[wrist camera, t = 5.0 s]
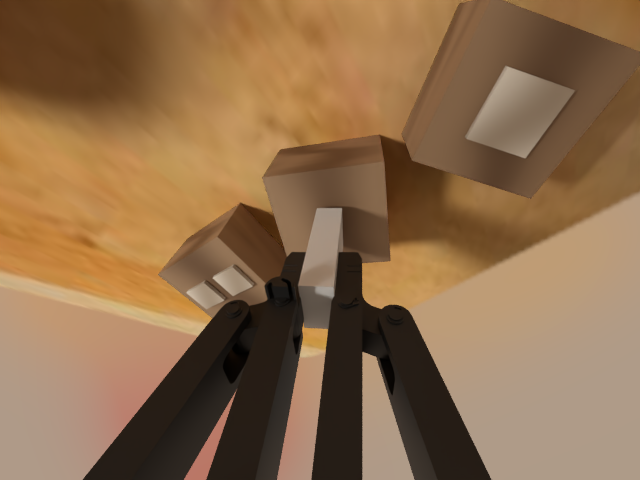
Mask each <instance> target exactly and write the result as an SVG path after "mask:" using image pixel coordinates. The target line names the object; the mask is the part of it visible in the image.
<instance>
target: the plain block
mask: <svg viewBox="0 0 640 480" xmlns="http://www.w3.org/2000/svg"><path fill="white" fill-rule="evenodd" d="M262 178H263V182H264V185H265V188H266V191H267V194H268V198H269V201H270V204H271V207H272V210H273V214H274V217H275V220H276V223H277V226H278V230H279V233H280V236H281V239H282V242H283V246H284V249H285V252H286V255H287V256H288V255H289V254H290V253H291V252H306V251H307V247H308V243H309V239H310V234H311V230H312V226H313V222H314V218H315V214H316V210H317V208H342V224H343V252H358V253H359V255H360V256H361V258H362V263H371V262H385V261H390V246H389V230H388V213H387V197H386V181H385V164H384V157H383V151H382V145H381V140H380V135H374V136H368V137H361V138H354V139H348V140H341V141H334V142H328V143H321V144H314V145H307V146H301V147H294V148H287V149H281V150H280V151H279V152H278V154H277V155H276V157H275V159H274V160H273V162H272V163H271V165H270V166H269V168H268V169H267V171H266V173H265V174H264V176H263V177H262Z"/></svg>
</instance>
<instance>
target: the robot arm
mask: <svg viewBox="0 0 640 480" xmlns="http://www.w3.org/2000/svg"><path fill="white" fill-rule="evenodd" d="M264 287H265V292H266V296H267V301H265V302H262V303H259V304H255V305H250V306H249V305H248V304H247V302H245V301H243V300H233V301H230V302H228V303H226V304H225V305H224V306H223V307H222V308H221V309H220V310H219V311H218V312H217V314H216V315H215V316H214V317H213V319H212V320H211V321H210V322H209V324H208V325H207V326H206V327H205V329H204V330H203V331H202V332H201V333H200V335H199V336H198V337H197V338H196V340H195V341H194V342H193V343H192V345H191V346H190V347H189V348H188V350H187V351H186V352H185V353H184V355H183V356H182V357H181V358H180V360H179V361H178V362H177V363H176V365H175V366H174V367H173V368H172V369H171V371H170V372H169V373H168V374H167V376H166V377H165V378H164V380H163V381H162V382H161V383H160V385H159V386H158V387H157V388H156V390H155V391H154V392H153V393H152V394H151V396H150V397H149V398H148V399H147V401H146V402H145V403H144V404H143V406H142V407H141V408H140V409H139V410H138V412H137V413H136V414H135V415H134V417H133V418H132V419H131V420H130V422H129V423H128V424H127V425H126V427H125V428H124V429H123V430H122V432H121V433H120V434H119V436H118V437H117V438H116V439H115V440H114V442H113V443H112V444H111V445H110V446H109V448H108V449H107V450H106V451H105V453H104V454H103V455H102V456H101V458H100V459H99V460H98V461H97V463H96V464H95V465H94V466H93V468H92V469H91V470H90V471H89V473H88V474H87V475H86V476H85V477H84V479H83V480H184V478H185V476H186V475H187V473H188V471H189V470H190V468H191V466H192V464H193V463H194V461H195V459H196V458H197V456H198V454H199V452H200V451H201V449H202V447H203V446H204V444H205V442H206V441H207V439H208V437H209V436H210V434H211V432H212V430H213V429H214V427H215V425H216V424H217V422H218V420H219V418H220V417H221V415H222V413H223V412H224V410H225V408H226V407H227V405H228V403H229V401H230V400H231V398H232V396H233V395H234V393H235V391H236V390H237V391H236V394H235V397H234V400H233V403H232V406H231V409H230V412H229V414H228V417H227V420H226V424H225V426H224V429H223V433H222V435H221V438H220V441H219V444H218V447H217V450H216V453H215V456H214V459H213V462H212V465H211V468H210V470H209V474H208V476H207V479H206V480H277V475H278V470H279V465H280V459H281V453H282V448H283V443H284V437H285V432H286V427H287V421H288V416H289V410H290V405H291V399H292V394H293V389H294V383H295V378H296V372H297V367H298V361H299V356H300V351H301V345H302V340H303V333H302V327H303V322H304V327H305V328H323V329H328V337H327V346H326V355H325V364H324V372H323V381H322V391H321V399H320V408H319V417H318V427H317V435H316V444H315V453H314V462H313V470H312V480H362V352H365V353H368V354H370V355H373V356H376V357H377V361H378V364H379V367H380V370H381V374H382V377H383V380H384V383H385V386H386V390H387V393H388V396H389V399H390V402H391V405H392V409H393V412H394V415H395V418H396V422H397V425H398V428H399V431H400V434H401V437H402V441H403V444H404V447H405V450H406V454H407V457H408V460H409V463H410V466H411V470H412V473H413V476H414V479H415V480H491V478H490V476H489V474H488V472H487V470H486V468H485V466H484V464H483V462H482V459H481V457H480V455H479V453H478V451H477V449H476V447H475V445H474V443H473V441H472V439H471V437H470V435H469V433H468V431H467V428H466V426H465V424H464V422H463V420H462V418H461V416H460V414H459V412H458V410H457V408H456V406H455V404H454V402H453V400H452V398H451V396H450V393H449V391H448V390H447V387H446V385H445V383H444V381H443V379H442V377H441V375H440V373H439V371H438V369H437V367H436V365H435V363H434V360H433V358H432V356H431V354H430V352H429V350H428V348H427V346H426V344H425V342H424V340H423V338H422V336H421V334H420V332H419V330H418V327H417V325H416V323H415V321H414V320H413V317H412V315H411V314H410V312H409V311H408V310H407V309H405V308H404V307H402V306H399V305H388V306H385V307H384V308H382V309H379V308H376V307H373V306H371V305H370V304H368V303H367V302H366V301H365V300H364V298H363V296H362V258H361V256H360V255H359V253H358V252H343V224H342V208H317V210H316V214H315V218H314V222H313V226H312V230H311V234H310V239H309V243H308V247H307V251H306V252H291V253H290V254H289V255H288V256H287V257H286V259H285V262H284V266H283V269H282V272H281V275H280V276H278V277H274V278H272V279H270V280H269V281H268V282H267V283H266V284H265V286H264Z"/></svg>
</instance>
